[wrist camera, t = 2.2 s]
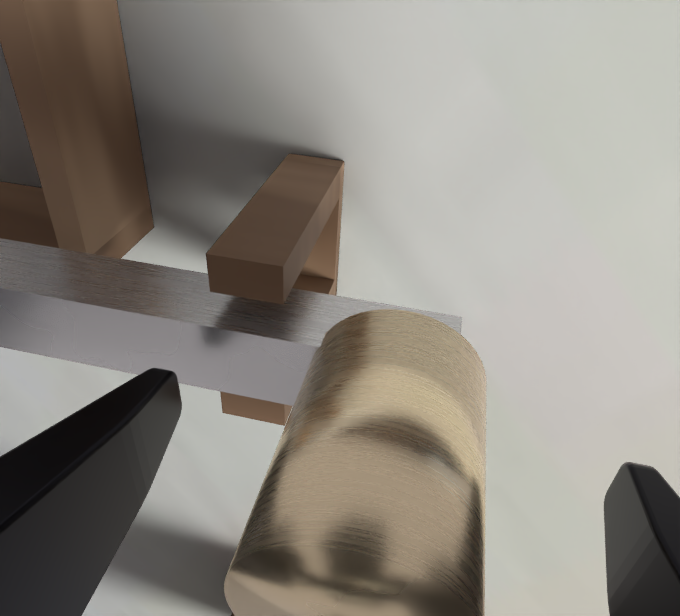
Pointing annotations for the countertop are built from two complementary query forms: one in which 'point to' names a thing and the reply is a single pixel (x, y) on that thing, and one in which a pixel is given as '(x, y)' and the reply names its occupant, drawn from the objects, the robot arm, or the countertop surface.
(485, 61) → the countertop surface
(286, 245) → the block
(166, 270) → the rod
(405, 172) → the countertop surface
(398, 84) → the countertop surface
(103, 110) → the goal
